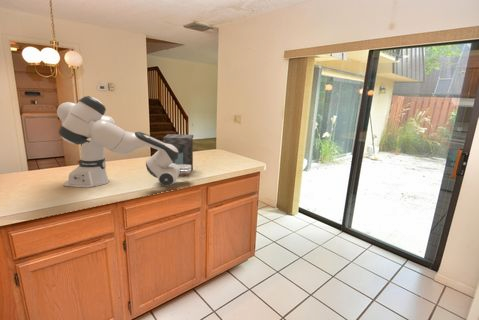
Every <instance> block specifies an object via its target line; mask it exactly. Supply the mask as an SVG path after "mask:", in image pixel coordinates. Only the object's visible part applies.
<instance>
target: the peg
mask: <svg viewBox="0 0 479 320" xmlns="http://www.w3.org/2000/svg"><path fill="white" fill-rule="evenodd" d="M175 164H177V165H182V164H183V152H179V156H178V159H177V160H175Z"/></svg>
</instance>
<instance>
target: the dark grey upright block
mask: <svg viewBox="0 0 479 320" xmlns="http://www.w3.org/2000/svg"><path fill="white" fill-rule="evenodd" d="M193 138H194V134H178V133H175V134H174V133H173V134H172V133H171V134H170V133H167V134H166V135H165V136H163V137H162V139H163V140H162V141H163V142H165V143H169V144H172V145H173V146H175V147H176V148H177V149H178V151H179V152H183V164H185V165H191V166H192V170H191V172H193V170H194V160H193V159H194V156H193V155H194V152H193V151H194V147H193V145H194V143H193V142H194V141H193ZM172 163H175V161H174V162H172ZM191 172H189V173H180V174H179V176H178V177H184V176H187V177H189V175H190V173H191Z"/></svg>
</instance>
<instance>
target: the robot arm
mask: <svg viewBox="0 0 479 320" xmlns="http://www.w3.org/2000/svg"><path fill="white" fill-rule="evenodd" d="M106 110H107V108H106V106H105V105H104V104H103V102H102V101H101V100H99V99H98V98H96V97H93V96H89V95H87V96H83V97H82V98H80V99H78V101H77V103H75V102H70V101H66V102H63V103H61V104H60V105H58V107H57V109H56V114H57V117H58V118H59V120H60V121H61V125H60V127H59V129H58V135H59V136H60V137H61V138H62V139H63V140H64V141H65V142H67V143H69V144H73V145H80V156H81V159H79V160H78V161H77V162H76V164H78V166H77V167H76V168H74V169H72V171H70V172H69V174H68V178H67V180H65V182H64V183H63V186H64V187H74V188H88V189H89V188H93V187H97V186H102V185H105V184H107V183H109V182H110V179H109V176H108V174H107V168H106V165H107V164H106V158H105V152H104V150H105V149H107V150H109V151H110V152H112V153H115V154H117V155H127V154H131V152H132V153H133V152H134V151H136V150H139V149H141V148H144V147H150V148H151V149H155V150H157V151H155V153H154V154H152V156H150V157H149V158H148V159H147V160H146V161H145V166H146V170H147V172H148V173H149V174H150V175H151V176H153V177H154V178H156V179H158V182H159V184H161V185H162V186H171V185H173V184H175V182H176V181H177V179H178V178H179V177H180V176H179V174H180V173H189V172H190V173H191V172H192V171H191V170H192V166H191V165H185V164H182V165H177V164H175V163H172V162H174V161H175V160H177V159H178V156H179V151H178V149H177V148H176V147H175V146H173V145H172V144H169V143H165V142H163V140H160V139H158V138H156V137H154V136H151V135H149V134H146V133H144V132H141V131H136V132H132V131H127V130H125V129H123V128H121V127H120V126H118V125H116V121H115V120H114V117H111V116H108V115H105V114H106ZM104 148H105V149H104ZM190 173H189V174H190Z"/></svg>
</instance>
